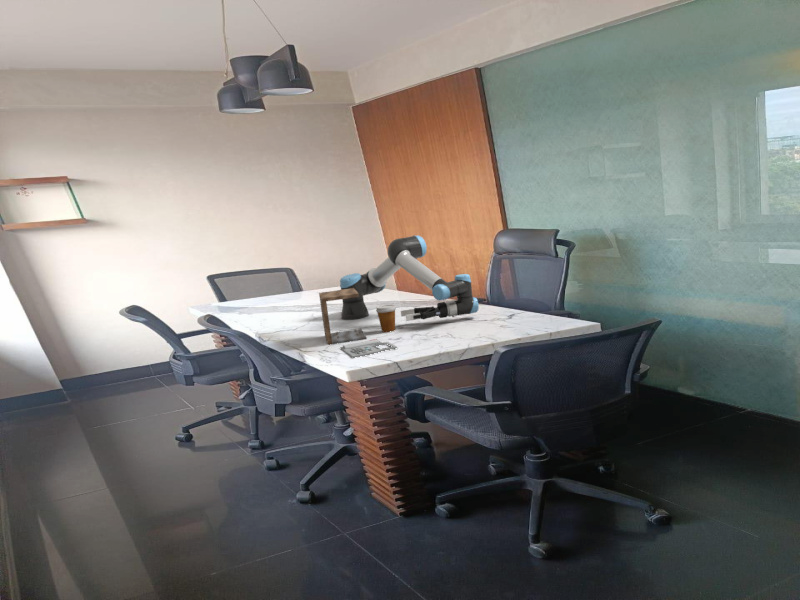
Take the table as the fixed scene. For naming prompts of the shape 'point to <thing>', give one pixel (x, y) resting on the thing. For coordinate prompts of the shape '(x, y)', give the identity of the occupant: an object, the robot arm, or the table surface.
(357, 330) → the walnut overhang shelf
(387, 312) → the disposable coffee cup
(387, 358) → the table surface
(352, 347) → the office telephone
